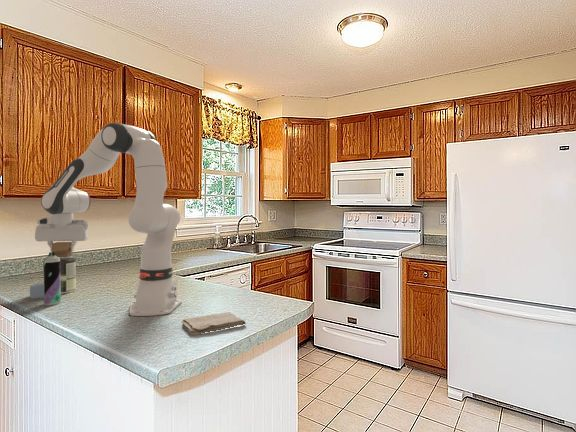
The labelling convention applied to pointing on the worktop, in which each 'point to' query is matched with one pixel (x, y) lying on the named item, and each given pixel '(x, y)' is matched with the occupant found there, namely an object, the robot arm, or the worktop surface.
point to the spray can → (52, 280)
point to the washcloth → (211, 323)
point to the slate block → (37, 290)
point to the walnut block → (62, 249)
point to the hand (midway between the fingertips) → (62, 251)
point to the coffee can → (68, 275)
